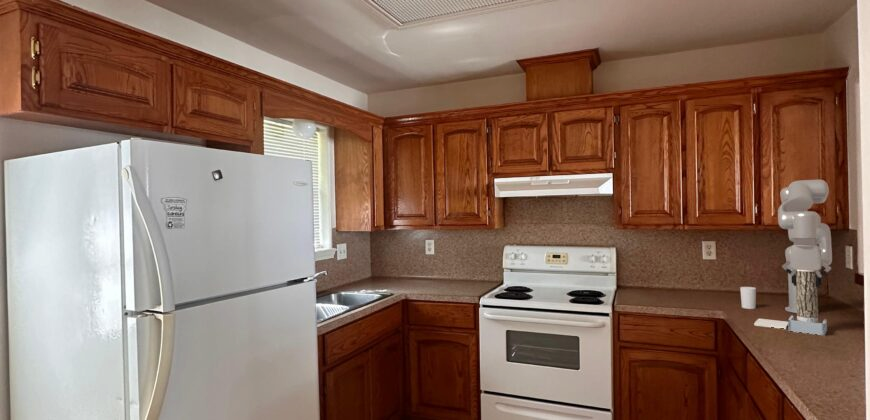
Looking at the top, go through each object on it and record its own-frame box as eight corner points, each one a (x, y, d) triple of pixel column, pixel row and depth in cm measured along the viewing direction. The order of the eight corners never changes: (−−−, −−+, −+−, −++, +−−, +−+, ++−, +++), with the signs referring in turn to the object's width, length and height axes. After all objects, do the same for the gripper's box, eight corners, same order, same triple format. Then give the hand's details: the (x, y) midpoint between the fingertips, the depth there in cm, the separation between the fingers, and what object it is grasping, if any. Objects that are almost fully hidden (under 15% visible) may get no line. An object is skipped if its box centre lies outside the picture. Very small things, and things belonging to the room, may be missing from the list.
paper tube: (793, 329, 197) (791, 268, 197) (804, 327, 199) (802, 267, 200) (811, 333, 191) (809, 270, 191) (822, 331, 193) (820, 269, 193)
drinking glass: (759, 309, 237) (758, 288, 237) (744, 308, 238) (743, 288, 238) (752, 306, 244) (752, 286, 244) (738, 306, 245) (737, 286, 245)
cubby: (791, 326, 203) (791, 315, 203) (826, 330, 195) (826, 319, 195) (788, 331, 195) (788, 320, 195) (825, 335, 187) (824, 324, 187)
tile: (758, 320, 213) (758, 318, 213) (789, 324, 206) (789, 321, 206) (754, 325, 205) (754, 323, 205) (785, 329, 198) (785, 326, 198)
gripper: (833, 242, 192) (834, 286, 192) (780, 241, 204) (781, 283, 204) (832, 243, 187) (833, 289, 186) (777, 242, 198) (779, 285, 198)
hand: (806, 285), depth 195 cm, fingers closed on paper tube, 6 cm apart
